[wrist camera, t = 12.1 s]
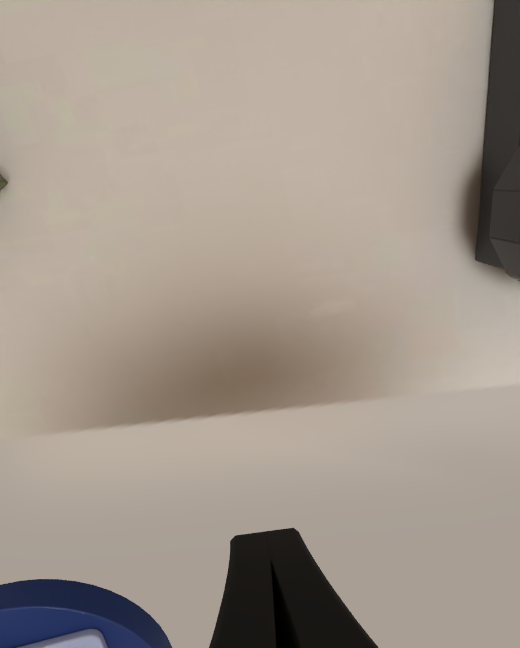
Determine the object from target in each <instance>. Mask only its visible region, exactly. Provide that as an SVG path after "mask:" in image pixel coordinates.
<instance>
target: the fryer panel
mask: <svg viewBox="0 0 520 648" xmlns="http://www.w3.org/2000/svg"><path fill="white" fill-rule="evenodd" d="M6 184H7V182H6V181H5V180H4V178H3V177H2V176H1V175H0V189H2V188H3V187H4V186H5V185H6Z"/></svg>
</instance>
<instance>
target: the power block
mask: <svg viewBox="0 0 520 648" xmlns="http://www.w3.org/2000/svg"><path fill="white" fill-rule="evenodd" d="M476 261H480V262H483V263H486V264H489V265H493V266H496V267H499V268H503V269H505V271H506V273H507V274H509V275H510V276H511V277H513V278H515V279H517V280H518V281H520V0H495V12H494V25H493V38H492V51H491V64H490V78H489V91H488V104H487V117H486V130H485V143H484V156H483V169H482V182H481V195H480V208H479V221H478V234H477V247H476Z"/></svg>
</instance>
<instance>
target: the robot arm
mask: <svg viewBox="0 0 520 648" xmlns="http://www.w3.org/2000/svg"><path fill="white" fill-rule="evenodd" d="M16 648H108V646H107V644H106V642H105V639H104V637H103V634H102V633H101V632H100V631H99V630H97V629H86V630H82V631H78V632H74V633H70V634H67V635H63V636H59V637H55V638H51V639H47V640H43V641H40V642H36V643H32V644H28V645H24V646H20V647H16ZM209 648H378V646H377V645H376V644H375V643H374V642H373V640H372V639H371V638H370V637H369V635H368V634H367V633H366V632H365V631H364V629H363V628H362V627H361V625H360V624H359V623H358V622H357V620H356V619H355V618H354V616H353V615H352V614H351V612H350V611H349V610H348V608H347V607H346V606H345V604H344V603H343V602H342V600H341V599H340V597H339V596H338V595H337V593H336V592H335V591H334V589H333V588H332V586H331V585H330V583H329V582H328V580H327V579H326V577H325V576H324V574H323V573H322V571H321V570H320V568H319V567H318V565H317V563H316V562H315V560H314V559H313V557H312V555H311V554H310V552H309V550H308V549H307V547H306V545H305V543H304V541H303V540H302V538H301V536H300V534H299V532H298V531H297V530H296V529H294V528H289V529H281V530H274V531H266V532H259V533H252V534H245V535H237V536H235V537H234V538H233V539H232V540H231V541H230V560H229V568H228V574H227V579H226V584H225V590H224V594H223V599H222V602H221V607H220V611H219V615H218V618H217V622H216V627H215V630H214V634H213V637H212V640H211V643H210V647H209Z"/></svg>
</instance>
